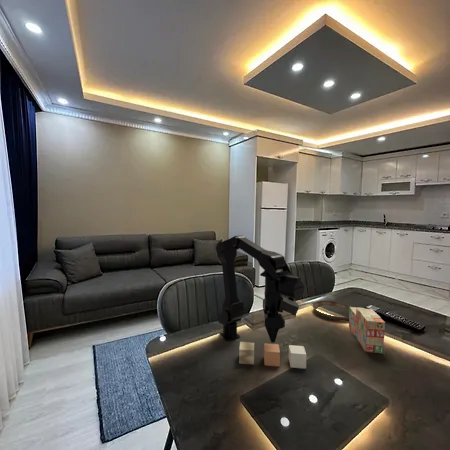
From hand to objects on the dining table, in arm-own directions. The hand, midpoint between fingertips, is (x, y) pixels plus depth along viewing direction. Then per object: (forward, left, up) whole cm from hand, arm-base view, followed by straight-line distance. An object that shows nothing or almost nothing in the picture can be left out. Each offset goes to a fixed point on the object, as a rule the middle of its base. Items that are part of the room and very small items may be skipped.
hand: (271, 335), depth 87 cm
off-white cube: (+5, +7, -9) cm, 13 cm away
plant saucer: (-17, +55, -10) cm, 58 cm away
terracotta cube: (0, 0, -9) cm, 9 cm away
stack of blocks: (+6, +44, -10) cm, 46 cm away
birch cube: (-5, -7, -9) cm, 13 cm away
